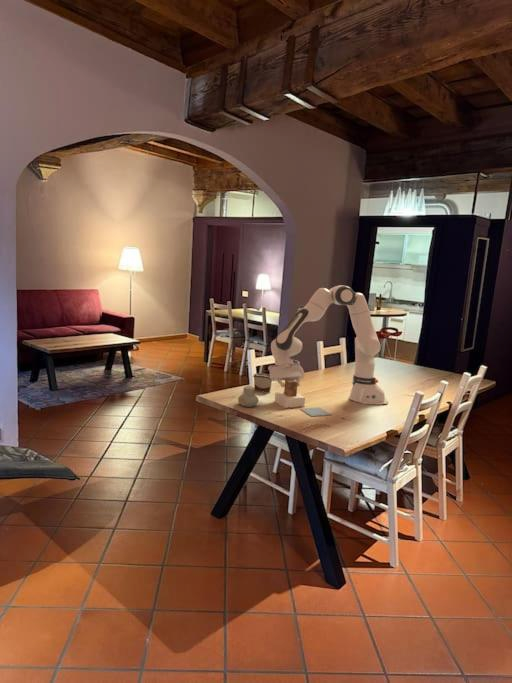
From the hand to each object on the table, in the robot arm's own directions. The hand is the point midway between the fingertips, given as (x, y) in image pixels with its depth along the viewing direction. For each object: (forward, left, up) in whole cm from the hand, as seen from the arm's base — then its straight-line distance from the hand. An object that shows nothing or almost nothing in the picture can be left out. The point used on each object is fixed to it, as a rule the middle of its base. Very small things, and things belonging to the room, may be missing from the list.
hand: (290, 386), depth 255 cm
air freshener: (+22, +10, -10) cm, 26 cm away
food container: (+16, -22, -10) cm, 29 cm away
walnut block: (0, 0, -5) cm, 5 cm away
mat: (-14, +11, -10) cm, 20 cm away
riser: (0, 0, -10) cm, 10 cm away
